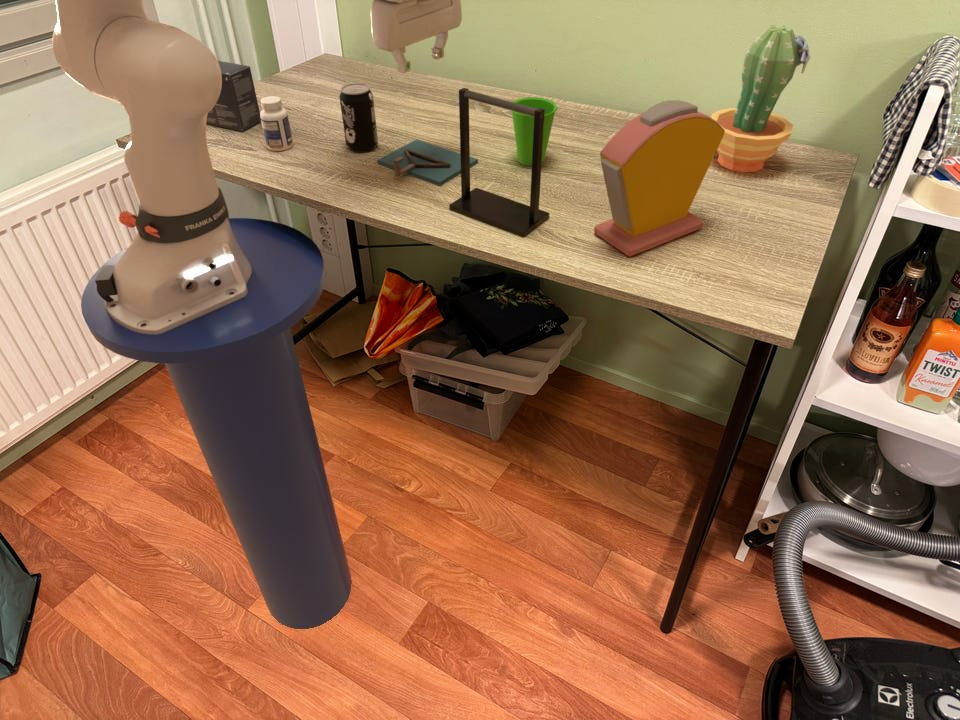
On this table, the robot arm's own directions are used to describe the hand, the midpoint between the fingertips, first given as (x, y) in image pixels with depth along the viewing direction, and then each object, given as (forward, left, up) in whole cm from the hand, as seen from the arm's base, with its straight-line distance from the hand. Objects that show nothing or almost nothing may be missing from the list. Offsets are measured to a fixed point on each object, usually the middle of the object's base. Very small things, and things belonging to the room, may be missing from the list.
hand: (421, 64), depth 122 cm
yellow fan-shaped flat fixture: (+2, -47, -19) cm, 51 cm away
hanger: (-4, 0, -17) cm, 17 cm away
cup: (+13, -16, -19) cm, 28 cm away
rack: (-8, -23, -19) cm, 31 cm away
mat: (0, 0, -19) cm, 19 cm away
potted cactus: (+37, -50, -19) cm, 65 cm away
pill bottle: (-12, +30, -19) cm, 38 cm away
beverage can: (-2, +16, -19) cm, 25 cm away
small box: (-10, +49, -19) cm, 54 cm away
